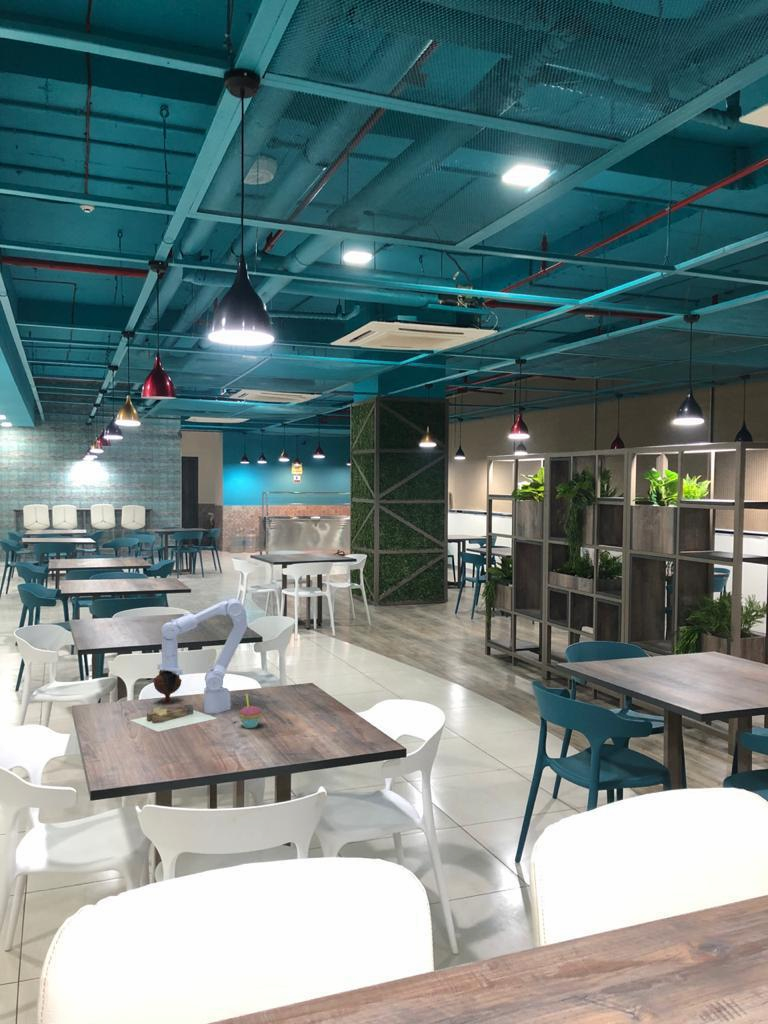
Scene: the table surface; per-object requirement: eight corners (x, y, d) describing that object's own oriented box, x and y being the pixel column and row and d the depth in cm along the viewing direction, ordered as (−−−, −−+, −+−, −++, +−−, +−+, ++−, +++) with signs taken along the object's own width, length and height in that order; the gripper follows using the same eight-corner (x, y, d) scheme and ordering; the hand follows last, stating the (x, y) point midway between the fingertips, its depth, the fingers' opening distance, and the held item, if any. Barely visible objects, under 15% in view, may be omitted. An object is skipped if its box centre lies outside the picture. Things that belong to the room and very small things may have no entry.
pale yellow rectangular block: (161, 712, 296) (161, 706, 296) (166, 714, 293) (166, 708, 293) (153, 713, 294) (153, 708, 294) (159, 715, 291) (159, 710, 291)
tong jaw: (184, 714, 302) (184, 708, 302) (187, 715, 301) (187, 709, 301) (151, 722, 292) (151, 715, 292) (155, 723, 290) (155, 716, 290)
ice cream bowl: (147, 707, 317) (147, 668, 317) (163, 700, 328) (163, 663, 328) (171, 709, 314) (171, 670, 314) (186, 702, 325) (186, 664, 324)
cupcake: (233, 727, 289) (233, 694, 289) (248, 721, 297) (248, 689, 296) (253, 730, 285) (253, 696, 285) (267, 724, 293) (267, 691, 292)
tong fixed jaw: (189, 711, 307) (189, 703, 306) (194, 713, 304) (194, 705, 304) (146, 720, 294) (146, 712, 294) (151, 722, 291) (151, 714, 291)
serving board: (188, 710, 312) (188, 708, 312) (217, 721, 297) (217, 718, 297) (130, 722, 295) (130, 720, 295) (157, 734, 281) (157, 731, 281)
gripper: (150, 653, 306) (150, 689, 306) (170, 659, 295) (170, 696, 296) (167, 651, 311) (167, 686, 311) (187, 656, 300) (187, 693, 301)
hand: (169, 691), depth 304 cm, fingers closed
